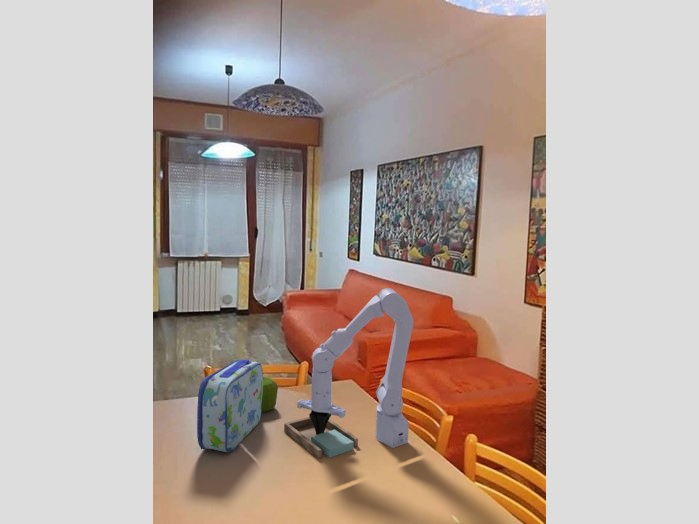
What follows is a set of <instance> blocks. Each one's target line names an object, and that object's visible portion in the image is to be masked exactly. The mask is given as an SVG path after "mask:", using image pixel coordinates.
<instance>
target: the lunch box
mask: <svg viewBox="0 0 699 524" xmlns="http://www.w3.org/2000/svg"><path fill="white" fill-rule="evenodd" d="M263 377H264V371H263V365H262V364H261V362H258V361H251V360H249V359H240V360H239V359H236V360H233V361H232V362H231V361H230V363H229V364H227V365H225V366H223V367H221V368H219V369H218V370H216V371H214V372H213V373H211V374H209V375H207V376H206V377H204V378H203V379H202V380H201V382H200V385H199V388H198V394H197V409H196V410H197V414H196V415H197V416H196V418H197V419H196V428H197V429H196V433H197V435H196V436H197V442H198V446H199V448H200V449H201V450H205V449H208V450H215V451H219V452H225V453H230V452H233V451H235V449H237V447H238V446H239V445H240V444H241V443H242V441H243V440H244V439H245V438H246V437H247V436H248V435H249V434H250V433H251V432H252V431H253V430H254V429H255V428H256V427H257V426H258V424H259V422H260V420H261V417H262V412H261V409H262V395H263Z"/></svg>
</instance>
